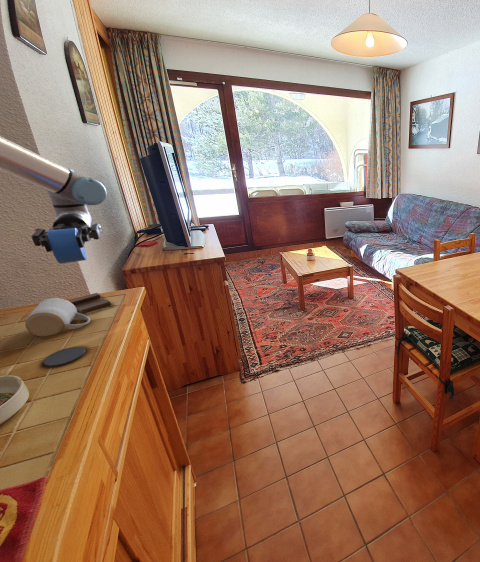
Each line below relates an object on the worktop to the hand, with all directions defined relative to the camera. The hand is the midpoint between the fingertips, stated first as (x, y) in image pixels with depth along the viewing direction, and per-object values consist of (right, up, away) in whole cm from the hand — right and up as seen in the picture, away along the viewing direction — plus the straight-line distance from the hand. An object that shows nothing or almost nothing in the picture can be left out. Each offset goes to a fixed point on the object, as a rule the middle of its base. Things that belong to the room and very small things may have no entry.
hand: (63, 244), depth 74 cm
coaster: (+5, -26, -5) cm, 27 cm away
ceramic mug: (-6, -22, +6) cm, 23 cm away
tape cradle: (-9, -17, +17) cm, 26 cm away
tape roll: (-3, -4, +6) cm, 8 cm away
